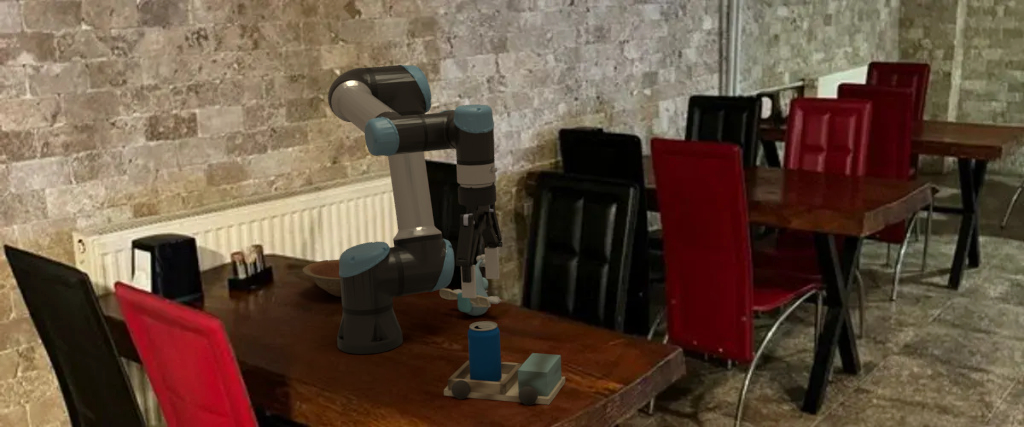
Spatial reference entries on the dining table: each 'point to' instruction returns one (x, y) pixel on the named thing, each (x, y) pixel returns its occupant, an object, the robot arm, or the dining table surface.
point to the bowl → (325, 275)
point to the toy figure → (482, 300)
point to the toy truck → (513, 381)
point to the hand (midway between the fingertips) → (481, 287)
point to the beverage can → (484, 351)
